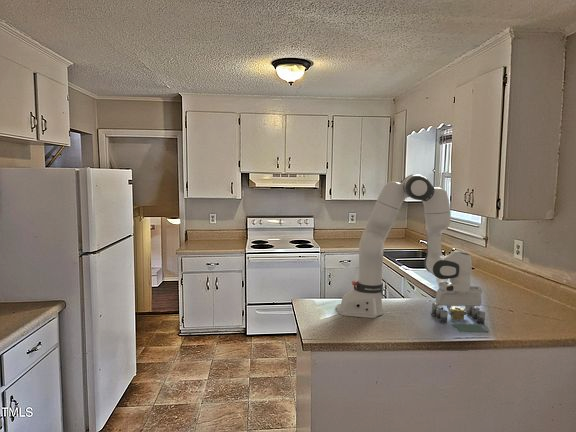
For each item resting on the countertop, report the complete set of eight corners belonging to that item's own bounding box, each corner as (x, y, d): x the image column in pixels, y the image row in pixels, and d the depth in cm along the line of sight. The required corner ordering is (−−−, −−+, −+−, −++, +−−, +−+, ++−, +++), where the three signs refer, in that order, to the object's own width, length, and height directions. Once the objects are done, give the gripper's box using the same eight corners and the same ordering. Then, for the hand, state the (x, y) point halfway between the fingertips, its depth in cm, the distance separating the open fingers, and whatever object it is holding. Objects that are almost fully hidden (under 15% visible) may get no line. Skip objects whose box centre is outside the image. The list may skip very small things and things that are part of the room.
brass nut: (454, 320, 180) (455, 310, 180) (449, 315, 186) (449, 306, 185) (465, 320, 180) (466, 310, 180) (459, 315, 186) (460, 306, 185)
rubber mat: (459, 331, 167) (459, 330, 167) (451, 324, 175) (451, 323, 175) (487, 332, 167) (487, 331, 167) (478, 325, 175) (478, 324, 175)
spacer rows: (441, 323, 176) (442, 312, 176) (430, 312, 189) (431, 302, 189) (485, 323, 177) (486, 313, 176) (471, 313, 190) (472, 303, 189)
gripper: (478, 284, 185) (476, 312, 186) (435, 283, 184) (433, 311, 186) (485, 288, 178) (482, 317, 180) (440, 287, 178) (438, 316, 180)
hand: (457, 314), depth 183 cm, fingers closed on brass nut, 5 cm apart
